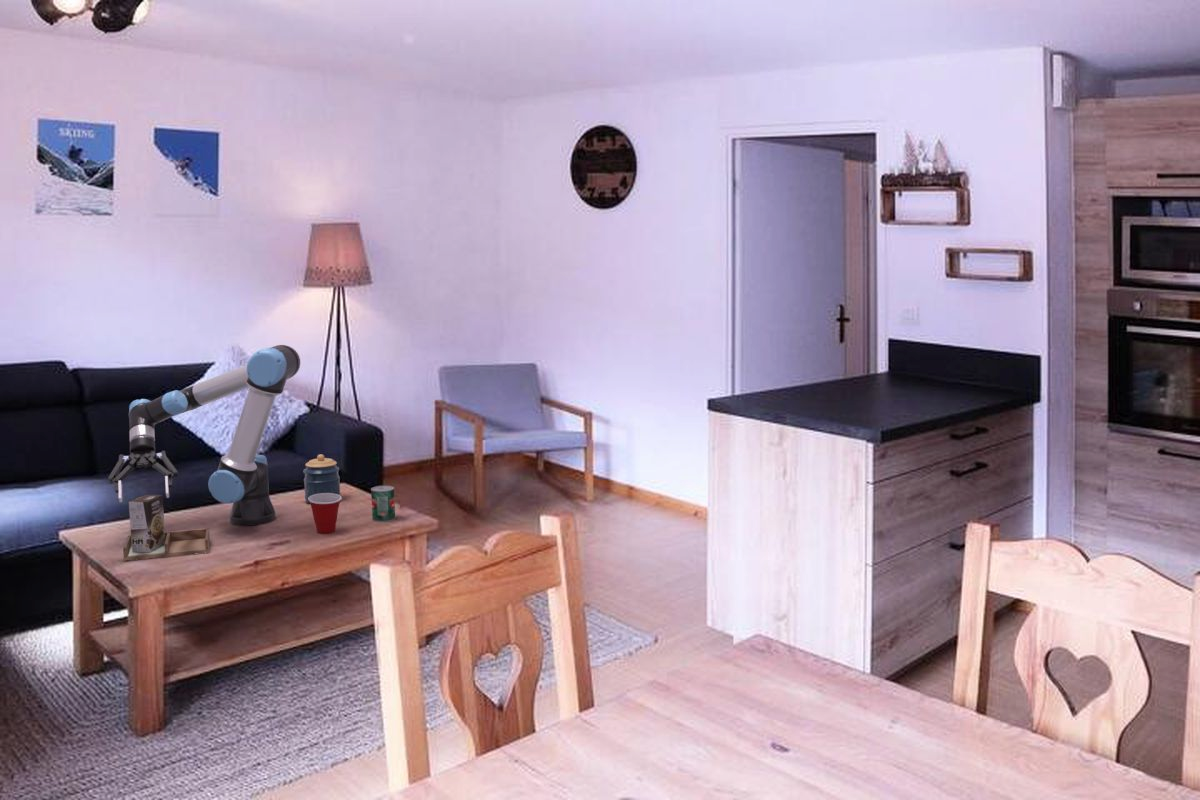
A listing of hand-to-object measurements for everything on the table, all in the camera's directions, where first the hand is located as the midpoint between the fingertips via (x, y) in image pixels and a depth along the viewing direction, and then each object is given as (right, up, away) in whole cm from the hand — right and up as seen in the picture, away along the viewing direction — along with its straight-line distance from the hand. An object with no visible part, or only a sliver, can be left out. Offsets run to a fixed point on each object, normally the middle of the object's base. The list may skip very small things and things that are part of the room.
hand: (144, 498), depth 320 cm
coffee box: (+3, -16, -4) cm, 16 cm away
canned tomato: (+69, -11, +33) cm, 77 cm away
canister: (+40, -7, +59) cm, 72 cm away
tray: (+8, -16, -2) cm, 18 cm away
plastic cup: (+53, -13, +18) cm, 57 cm away
